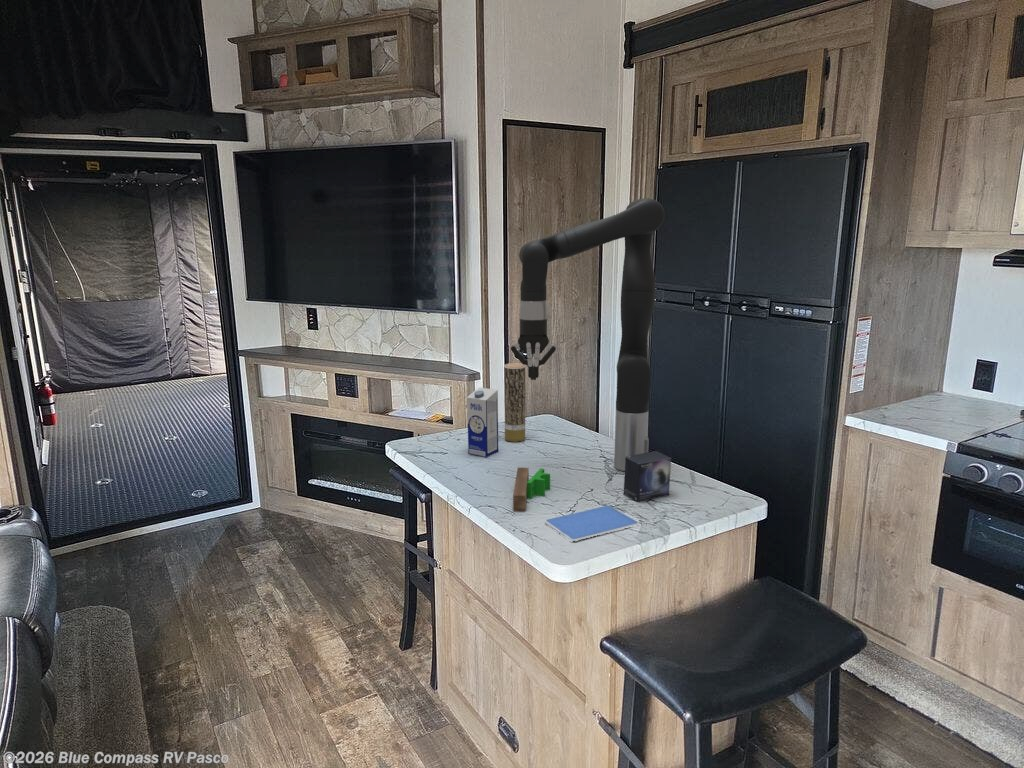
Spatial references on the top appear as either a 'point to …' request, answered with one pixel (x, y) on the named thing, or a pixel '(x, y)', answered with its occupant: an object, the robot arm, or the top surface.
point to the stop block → (520, 489)
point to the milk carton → (483, 422)
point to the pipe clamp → (538, 484)
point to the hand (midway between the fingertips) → (533, 379)
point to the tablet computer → (590, 523)
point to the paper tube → (514, 401)
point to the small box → (647, 476)
